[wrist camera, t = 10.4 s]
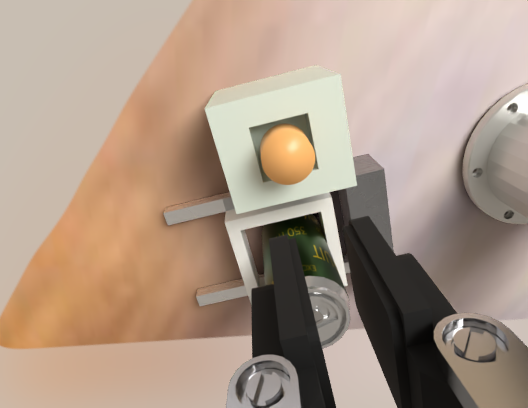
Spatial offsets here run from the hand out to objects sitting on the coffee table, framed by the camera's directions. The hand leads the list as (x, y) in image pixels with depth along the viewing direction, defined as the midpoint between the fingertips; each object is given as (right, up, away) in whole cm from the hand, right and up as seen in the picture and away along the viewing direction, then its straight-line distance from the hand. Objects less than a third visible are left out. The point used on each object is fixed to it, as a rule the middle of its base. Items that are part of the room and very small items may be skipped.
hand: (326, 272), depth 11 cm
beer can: (+1, 0, +24) cm, 24 cm away
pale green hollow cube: (-1, +9, +19) cm, 21 cm away
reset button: (-1, +5, +12) cm, 13 cm away
